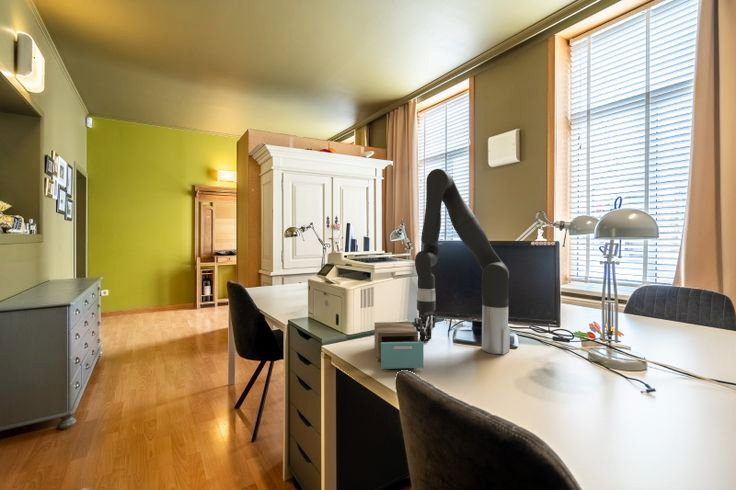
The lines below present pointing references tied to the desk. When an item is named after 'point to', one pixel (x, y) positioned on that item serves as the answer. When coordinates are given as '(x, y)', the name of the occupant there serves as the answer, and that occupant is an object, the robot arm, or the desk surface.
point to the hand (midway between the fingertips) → (425, 339)
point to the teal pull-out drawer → (401, 355)
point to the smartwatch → (427, 334)
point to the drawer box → (393, 334)
